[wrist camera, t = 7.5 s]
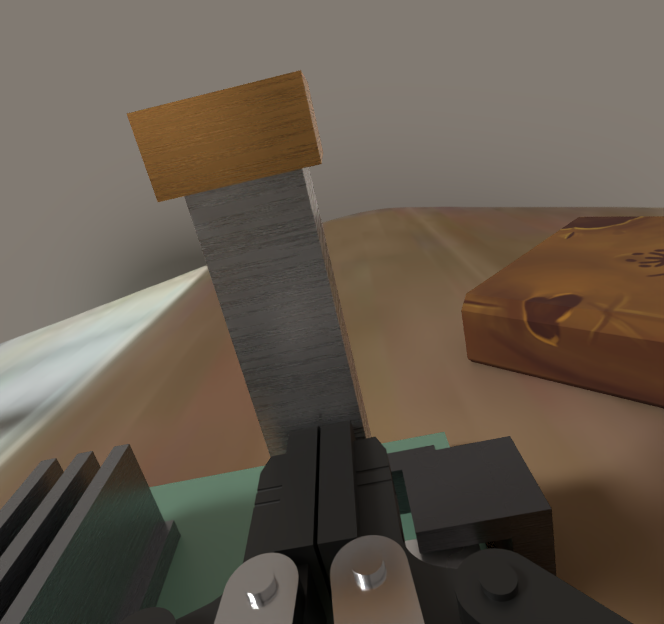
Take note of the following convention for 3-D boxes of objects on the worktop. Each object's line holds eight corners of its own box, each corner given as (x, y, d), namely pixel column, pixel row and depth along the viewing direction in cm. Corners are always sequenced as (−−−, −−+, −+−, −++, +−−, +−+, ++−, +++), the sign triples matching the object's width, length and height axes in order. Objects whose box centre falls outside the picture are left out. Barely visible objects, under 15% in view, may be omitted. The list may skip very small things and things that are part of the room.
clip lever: (529, 708, 14) (449, 26, 7) (320, 738, 14) (81, 119, 8) (478, 558, 18) (403, 62, 12) (322, 584, 19) (173, 118, 13)
